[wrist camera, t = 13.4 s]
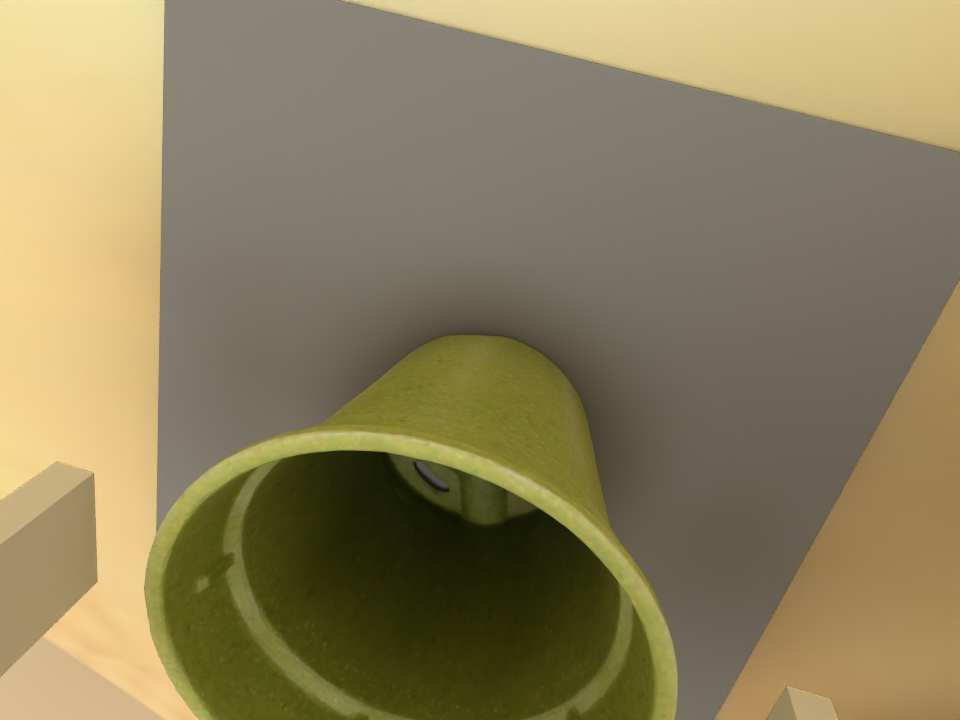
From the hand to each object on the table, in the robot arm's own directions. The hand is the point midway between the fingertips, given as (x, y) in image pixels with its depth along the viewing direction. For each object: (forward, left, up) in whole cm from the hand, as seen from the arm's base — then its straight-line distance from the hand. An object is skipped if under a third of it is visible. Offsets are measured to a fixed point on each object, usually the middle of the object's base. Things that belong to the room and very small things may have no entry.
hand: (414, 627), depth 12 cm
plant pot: (0, 0, -8) cm, 8 cm away
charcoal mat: (0, 0, -8) cm, 8 cm away
